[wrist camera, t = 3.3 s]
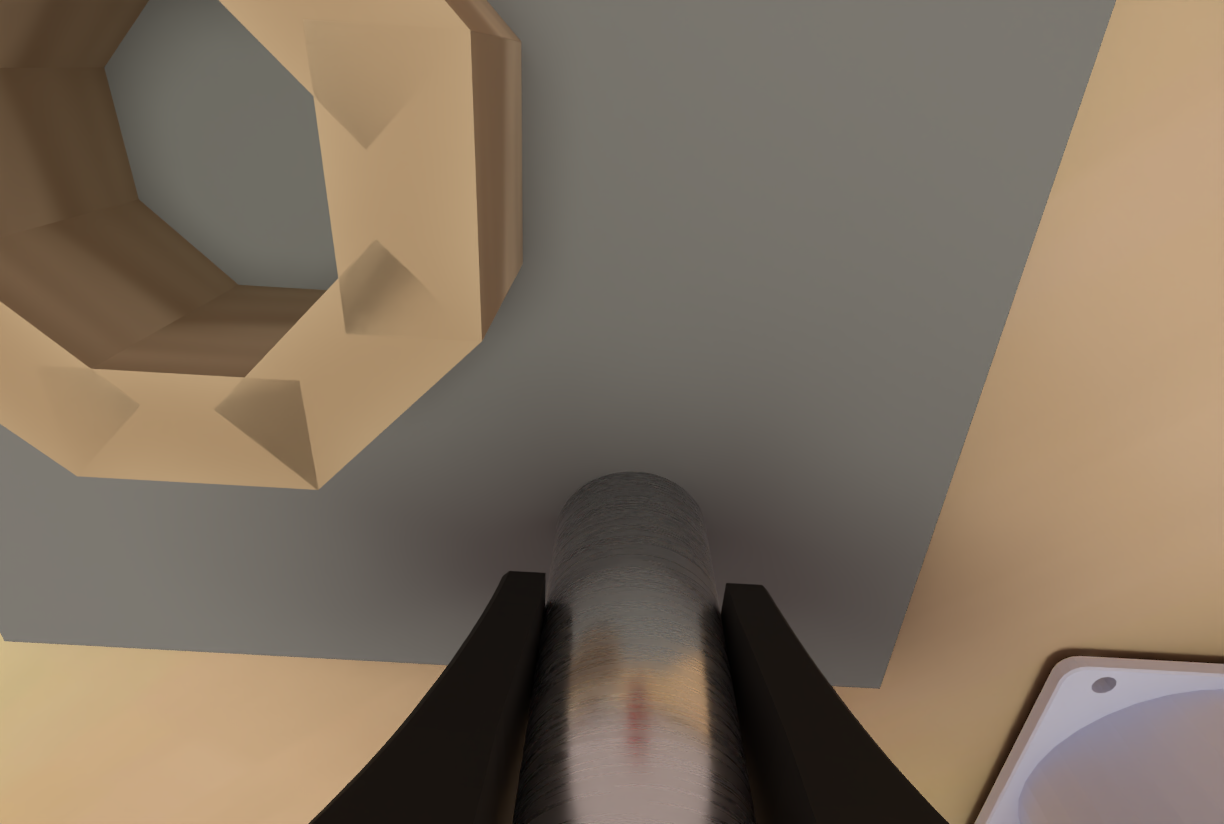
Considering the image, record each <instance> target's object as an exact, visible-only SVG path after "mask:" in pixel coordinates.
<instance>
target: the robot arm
mask: <svg viewBox="0 0 1224 824" xmlns="http://www.w3.org/2000/svg"><path fill="white" fill-rule="evenodd" d="M545 587H546V573H540V572H521V571H509V572H507V573H506V574H505V575H503V576H502V578H501V580H500V583H499V585H498V587H497V589H496V590H495V592H494V594H493V596H492V598H491V599H490V601H489V603H488V605H487V606H486V608H485V610H484V611H483V613H482V615H481V616H480V618H479V619H478V621H477V623H476V624H475V626H474V627H473V629H472V631H471V632H470V634H469V635H468V637H467V638H466V640H465V641H464V642H463V644H462V645H461V647H460V648H459V650H458V651H457V653H456V654H455V656H454V657H453V658H452V660H451V661H450V663H449V664H448V666H447V667H446V669H445V670H444V671H443V673H442V674H441V675H440V677H439V678H438V679H437V681H436V682H435V683H434V684H433V686H432V687H431V688H430V690H429V691H428V692H427V693H426V695H425V696H424V697H423V699H422V700H421V701H420V702H419V704H418V705H417V706H416V708H415V709H414V710H413V711H412V713H411V714H410V715H409V716H408V718H407V719H406V720H405V721H404V722H403V724H402V725H401V726H400V727H399V728H398V730H397V731H396V732H395V733H394V734H393V735H392V737H391V738H390V739H389V740H388V741H387V742H386V744H385V745H384V746H383V747H382V748H381V749H380V750H379V751H378V752H377V754H376V755H375V756H374V757H373V758H372V759H371V760H370V761H369V762H368V764H367V765H366V766H365V767H364V768H363V769H362V770H361V771H360V772H359V773H358V774H357V775H356V776H355V777H354V778H353V779H352V780H351V781H350V782H349V783H348V784H347V786H346V787H345V788H344V789H343V790H342V791H341V792H340V793H339V794H338V795H337V796H336V797H335V798H334V799H333V800H332V801H331V802H330V803H329V804H328V805H327V806H326V807H325V808H324V809H323V810H322V811H321V812H320V813H319V814H318V815H317V816H316V817H315V818H314V819H313V820H312V821H311V822H310V823H309V824H512V821H513V815H514V808H515V802H516V795H517V788H518V782H519V775H520V768H521V762H522V755H523V748H524V742H525V735H526V729H527V722H528V715H529V709H530V702H531V695H532V689H533V682H534V675H535V669H536V663H537V658H538V652H539V645H540V639H541V632H542V625H543V619H544V612H545ZM721 619H722V625H723V631H724V637H725V643H726V649H727V654H728V660H729V666H730V672H731V678H732V684H733V689H734V695H735V701H736V707H737V713H738V719H739V725H740V730H741V736H742V742H743V748H744V754H745V760H746V765H747V771H748V777H749V783H750V789H751V795H752V800H753V806H754V812H755V818H756V824H949V823H948V822H947V821H946V820H945V819H944V818H943V817H942V816H941V815H940V814H939V813H938V812H937V811H936V810H935V809H934V808H933V807H932V806H931V805H930V803H929V802H928V801H927V800H926V799H925V798H924V797H923V796H922V795H921V794H920V793H919V791H918V790H917V789H916V788H915V787H914V786H913V785H912V784H911V783H910V782H909V781H908V780H907V778H906V777H905V776H904V775H903V774H902V773H901V772H900V771H899V769H898V768H897V767H896V766H895V765H894V764H893V763H892V761H891V760H890V759H889V758H888V757H887V756H886V754H885V753H884V752H883V751H882V750H881V748H880V747H879V746H878V745H877V744H876V743H875V741H874V740H873V739H872V738H871V736H870V735H869V734H868V733H867V731H866V730H865V729H864V728H863V726H862V725H861V724H860V723H859V721H858V720H857V719H856V718H855V717H854V715H853V714H852V713H851V711H850V710H849V709H848V707H847V706H846V705H845V704H844V702H843V701H842V700H841V698H840V697H839V696H838V694H837V693H836V691H835V690H834V689H833V687H832V686H831V685H830V683H829V682H828V681H827V679H826V678H825V676H824V675H823V674H822V672H821V671H820V670H819V668H818V667H817V665H816V664H815V663H814V661H813V660H812V658H811V657H810V655H809V654H808V653H807V651H806V650H805V648H804V647H803V645H802V644H801V642H800V641H799V639H798V638H797V636H796V635H795V633H794V632H793V630H792V629H791V627H790V626H789V624H788V622H787V621H786V619H785V618H784V616H783V615H782V613H781V611H780V610H779V608H778V607H777V605H776V603H775V602H774V600H773V599H772V597H771V595H770V594H769V592H768V591H767V589H766V588H765V587H764V586H763V585H756V584H738V583H726V586H725V592H724V598H723V603H722V609H721ZM974 824H1224V664H1217V663H1199V662H1181V661H1163V660H1144V659H1126V658H1108V657H1090V656H1072V657H1068V658H1065V659H1063V660H1061V661H1060V662H1058V663H1057V664H1056V665H1055V666H1054V668H1053V669H1052V671H1051V673H1050V675H1049V677H1048V679H1047V681H1046V683H1045V685H1044V687H1043V689H1042V691H1041V693H1040V694H1039V696H1038V698H1037V700H1036V702H1035V704H1034V706H1033V708H1032V710H1031V712H1030V714H1029V716H1028V718H1027V720H1026V722H1025V724H1024V726H1023V728H1022V730H1021V732H1020V734H1019V736H1018V738H1017V740H1016V742H1015V744H1014V746H1013V748H1012V750H1011V752H1010V754H1009V756H1008V758H1007V760H1006V762H1005V764H1004V766H1003V768H1002V770H1001V772H1000V774H999V776H998V778H997V780H996V782H995V784H994V786H993V788H992V790H991V792H990V794H989V796H988V798H987V800H986V802H985V804H984V806H983V808H982V810H981V811H980V813H979V815H978V817H977V819H976V821H975V823H974Z"/></svg>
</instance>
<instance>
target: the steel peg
mask: <svg viewBox="0 0 1224 824" xmlns="http://www.w3.org/2000/svg"><path fill="white" fill-rule="evenodd" d="M512 824H756V818H755V812H754V806H753V800H752V795H751V789H750V783H749V777H748V771H747V765H746V760H745V754H744V748H743V742H742V736H741V730H740V725H739V719H738V713H737V707H736V701H735V695H734V689H733V684H732V678H731V672H730V666H729V660H728V654H727V649H726V643H725V637H724V631H723V625H722V619H721V613H720V608H719V602H718V596H717V590H716V584H715V578H714V573H713V567H712V561H711V555H710V549H709V543H708V538H707V532H706V526H705V521H704V517H703V514H702V512H701V510H700V507H699V506H698V504H697V503H696V501H695V500H694V499H693V498H692V496H691V495H690V494H689V493H688V492H687V491H685V490H684V489H683V488H682V487H680V486H679V485H677V484H676V483H674V482H672V481H670V480H668V479H666V478H663V477H660V476H658V475H654V474H650V473H644V472H618V473H613V474H608V475H605V476H602V477H599V478H596V479H594V480H592V481H590V482H588V483H587V484H585V485H584V486H582V487H581V488H579V489H578V490H577V491H576V492H575V493H574V494H573V495H572V496H571V497H570V498H569V499H568V500H567V502H566V503H565V505H564V507H563V508H562V511H561V513H560V515H559V519H558V523H557V529H556V536H555V543H554V549H553V556H552V563H551V569H550V576H549V583H548V589H547V596H546V602H545V612H544V619H543V625H542V632H541V639H540V645H539V652H538V658H537V663H536V669H535V675H534V682H533V689H532V695H531V702H530V709H529V715H528V722H527V729H526V735H525V742H524V748H523V755H522V762H521V768H520V775H519V782H518V788H517V795H516V802H515V808H514V815H513V821H512Z"/></svg>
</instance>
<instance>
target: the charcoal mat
mask: <svg viewBox="0 0 1224 824" xmlns="http://www.w3.org/2000/svg"><path fill="white" fill-rule="evenodd" d="M487 1H488V2H489V4H490V5H491V6H492V7H493V8H494V10H495V11H496V12H497V13H498V14H499V16H500V17H501V18H502V19H503V20H504V22H505V23H506V24H507V25H508V26H509V28H510V29H511V30H512V31H513V32H514V34H515V35H516V36H517V37H518V38H519V39H520V41H521V78H522V228H523V264H522V266H521V268H520V270H519V272H518V274H517V275H516V277H515V279H514V281H513V283H512V285H511V287H510V289H509V291H508V293H507V295H506V297H505V298H504V300H503V302H502V304H501V306H500V308H499V310H498V312H497V314H496V316H495V318H494V320H493V321H492V323H491V325H490V327H489V329H488V331H487V333H486V335H485V337H484V339H483V341H482V342H481V343H480V344H478V345H477V346H476V347H475V348H474V349H473V350H472V351H471V352H470V353H468V354H467V355H466V356H465V357H464V358H463V359H462V360H461V361H460V362H459V363H457V364H456V365H455V366H454V367H453V368H452V369H451V370H450V371H449V372H448V373H446V374H445V375H444V376H443V377H442V378H441V379H440V380H439V381H438V382H437V383H435V384H434V385H433V386H432V387H431V388H430V389H429V390H428V391H427V392H426V393H424V394H423V395H422V396H421V397H420V398H419V399H418V400H417V401H416V402H415V403H413V404H412V405H411V406H410V407H409V408H408V409H407V410H406V411H405V412H404V413H402V414H401V415H400V416H399V417H398V418H397V419H396V420H395V421H394V422H392V423H391V424H390V425H389V426H388V427H387V428H386V429H385V430H384V431H383V432H381V433H380V434H379V435H378V436H377V437H376V438H375V439H374V440H373V441H372V442H370V443H369V444H368V445H367V446H366V447H365V448H364V449H363V450H362V451H361V452H359V453H358V454H357V455H356V456H355V457H354V458H353V459H352V460H351V461H350V462H348V463H347V464H346V465H345V466H344V467H343V468H342V469H341V470H340V471H339V472H337V473H336V474H335V475H334V476H333V477H332V478H331V479H330V480H329V481H328V482H326V483H325V484H324V485H323V486H322V487H321V488H320V489H319V490H311V489H294V488H276V487H258V486H240V485H223V484H205V483H187V482H169V481H152V480H134V479H116V478H98V477H81V476H78V477H77V476H76V475H75V474H73V473H72V472H70V471H69V470H67V469H66V468H64V467H63V466H61V465H60V464H58V463H57V462H55V461H54V460H53V459H51V458H50V457H48V456H47V455H45V454H44V453H42V452H41V451H39V450H38V449H36V448H35V447H33V446H32V445H31V444H29V443H28V442H26V441H25V440H23V439H22V438H20V437H19V436H17V435H16V434H14V433H13V432H11V431H10V430H9V429H7V428H6V427H4V426H3V425H1V424H0V633H1V635H2V637H3V639H4V641H12V642H31V643H49V644H67V645H86V646H104V647H123V648H141V649H160V650H178V651H196V652H215V653H233V654H252V655H270V656H289V657H307V658H325V659H344V660H362V661H381V662H399V663H418V664H436V665H448V664H449V663H450V661H451V660H452V658H453V657H454V656H455V654H456V653H457V651H458V650H459V648H460V647H461V645H462V644H463V642H464V641H465V640H466V638H467V637H468V635H469V634H470V632H471V631H472V629H473V627H474V626H475V624H476V623H477V621H478V619H479V618H480V616H481V615H482V613H483V611H484V610H485V608H486V606H487V605H488V603H489V601H490V599H491V598H492V596H493V594H494V592H495V590H496V589H497V587H498V585H499V583H500V580H501V578H502V576H503V575H505V574H506V573H507V572H509V571H521V572H540V573H546V587H545V602H546V596H547V589H548V583H549V576H550V569H551V563H552V556H553V549H554V543H555V536H556V529H557V523H558V519H559V515H560V513H561V511H562V508H563V507H564V505H565V503H566V502H567V500H568V499H569V498H570V497H571V496H572V495H573V494H574V493H575V492H576V491H577V490H578V489H579V488H581V487H582V486H584V485H585V484H587V483H588V482H590V481H592V480H594V479H596V478H599V477H602V476H605V475H608V474H613V473H618V472H644V473H650V474H654V475H658V476H660V477H663V478H666V479H668V480H670V481H672V482H674V483H676V484H677V485H679V486H680V487H682V488H683V489H684V490H685V491H687V492H688V493H689V494H690V495H691V496H692V498H693V499H694V500H695V501H696V503H697V504H698V506H699V507H700V510H701V512H702V514H703V517H704V521H705V526H706V532H707V538H708V543H709V549H710V555H711V561H712V567H713V573H714V578H715V584H716V590H717V596H718V602H719V608H720V613H721V609H722V603H723V598H724V592H725V586H726V583H738V584H756V585H763V586H764V587H765V588H766V589H767V591H768V592H769V594H770V595H771V597H772V599H773V600H774V602H775V603H776V605H777V607H778V608H779V610H780V611H781V613H782V615H783V616H784V618H785V619H786V621H787V622H788V624H789V626H790V627H791V629H792V630H793V632H794V633H795V635H796V636H797V638H798V639H799V641H800V642H801V644H802V645H803V647H804V648H805V650H806V651H807V653H808V654H809V655H810V657H811V658H812V660H813V661H814V663H815V664H816V665H817V667H818V668H819V670H820V671H821V672H822V674H823V675H824V676H825V678H826V679H827V681H828V682H829V683H830V685H831V686H841V687H860V688H878V689H880V686H881V683H882V681H883V678H884V675H885V672H886V669H887V666H888V663H889V660H890V657H891V654H892V651H893V648H894V646H895V643H896V640H897V637H898V634H899V631H900V628H901V625H902V622H903V619H904V616H905V614H906V611H907V608H908V605H909V602H910V599H911V596H912V593H913V590H914V587H915V584H916V581H917V579H918V576H919V573H920V570H921V567H922V564H923V561H924V558H925V555H926V552H927V549H928V547H929V544H930V541H931V538H932V535H933V532H934V529H935V526H936V523H937V520H938V517H939V515H940V512H941V509H942V506H943V503H944V500H945V497H946V494H947V491H948V488H949V485H950V482H951V480H952V477H953V474H954V471H955V468H956V465H957V462H958V459H959V456H960V453H961V450H962V448H963V445H964V442H965V439H966V436H967V433H968V430H969V427H970V424H971V421H972V418H973V416H974V413H975V410H976V407H977V404H978V401H979V398H980V395H981V392H982V389H983V386H984V383H985V381H986V378H987V375H988V372H989V369H990V366H991V363H992V360H993V357H994V354H995V351H996V349H997V346H998V343H999V340H1000V337H1001V334H1002V331H1003V328H1004V325H1005V322H1006V319H1007V316H1008V314H1009V311H1010V308H1011V305H1012V302H1013V299H1014V296H1015V293H1016V290H1017V287H1018V284H1019V282H1020V279H1021V276H1022V273H1023V270H1024V267H1025V264H1026V261H1027V258H1028V255H1029V252H1030V250H1031V247H1032V244H1033V241H1034V238H1035V235H1036V232H1037V229H1038V226H1039V223H1040V220H1041V217H1042V215H1043V212H1044V209H1045V206H1046V203H1047V200H1048V197H1049V194H1050V191H1051V188H1052V185H1053V183H1054V180H1055V177H1056V174H1057V171H1058V168H1059V165H1060V162H1061V159H1062V156H1063V153H1064V151H1065V148H1066V145H1067V142H1068V139H1069V136H1070V133H1071V130H1072V127H1073V124H1074V121H1075V118H1076V116H1077V113H1078V110H1079V107H1080V104H1081V101H1082V98H1083V95H1084V92H1085V89H1086V86H1087V84H1088V81H1089V78H1090V75H1091V72H1092V69H1093V66H1094V63H1095V60H1096V57H1097V54H1098V52H1099V49H1100V46H1101V43H1102V40H1103V37H1104V34H1105V31H1106V28H1107V25H1108V22H1109V19H1110V17H1111V14H1112V11H1113V8H1114V5H1115V2H1116V0H487ZM104 69H105V72H106V76H107V80H108V84H109V88H110V91H111V95H112V99H113V103H114V107H115V111H116V114H117V118H118V122H119V126H120V130H121V133H122V137H123V141H124V145H125V149H126V152H127V156H128V160H129V164H130V168H131V172H132V175H133V179H134V183H135V187H136V191H137V194H138V198H139V200H140V201H141V202H143V203H144V204H145V205H146V206H147V207H148V208H150V209H151V210H152V211H153V212H154V213H155V214H157V215H158V216H159V217H160V218H161V219H162V220H164V221H165V222H166V223H167V224H168V225H169V226H171V227H172V228H173V229H174V230H175V231H176V232H178V233H179V234H180V235H181V236H182V237H183V238H185V239H186V240H187V241H188V242H189V243H190V244H192V245H193V246H194V247H195V248H196V249H197V250H199V251H200V252H201V253H202V254H203V255H204V256H206V257H207V258H208V259H209V260H210V261H211V262H213V263H214V264H215V265H216V266H217V267H218V268H220V269H221V270H222V271H223V272H224V273H225V274H227V275H228V276H229V277H230V278H231V279H232V280H234V281H235V282H236V283H237V284H238V285H249V286H266V287H283V288H300V289H317V290H328V289H329V288H330V287H331V285H332V284H333V283H334V282H335V281H336V280H337V279H338V272H337V265H336V258H335V250H334V243H333V236H332V228H331V221H330V214H329V206H328V199H327V192H326V184H325V177H324V170H323V162H322V155H321V148H320V140H319V133H318V126H317V118H316V111H315V104H314V96H313V95H312V94H311V93H310V92H309V91H308V90H307V89H306V88H305V87H304V86H303V85H302V84H301V83H300V82H299V81H298V80H297V79H296V78H295V77H294V76H293V75H292V74H291V73H290V72H289V71H288V70H287V69H286V68H285V67H284V66H283V65H282V64H281V63H280V62H279V61H278V60H277V59H276V58H275V57H274V56H273V55H272V54H271V53H270V52H269V51H268V50H267V49H266V48H265V47H264V46H263V45H262V44H261V43H260V42H259V41H258V40H257V39H256V38H255V37H254V36H253V35H252V34H251V33H250V32H249V31H248V30H247V29H246V28H245V27H244V26H243V25H242V24H241V22H240V21H239V20H238V19H237V18H236V17H235V16H234V15H233V14H232V13H231V12H230V11H229V10H228V9H227V8H226V7H225V6H224V5H223V4H222V3H221V2H220V1H219V0H149V1H148V3H147V4H146V6H145V7H144V9H143V10H142V12H141V13H140V15H139V16H138V18H137V19H136V21H135V22H134V24H133V25H132V27H131V28H130V30H129V31H128V33H127V34H126V36H125V37H124V39H123V40H122V42H121V43H120V45H119V46H118V48H117V49H116V51H115V52H114V54H113V55H112V57H111V58H110V60H109V61H108V63H107V64H106V66H105V67H104Z"/></svg>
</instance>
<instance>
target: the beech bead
mask: <svg viewBox="0 0 1224 824" xmlns="http://www.w3.org/2000/svg"><path fill="white" fill-rule="evenodd" d="M148 1H149V0H0V424H1V425H3V426H4V427H6V428H7V429H9V430H10V431H11V432H13V433H14V434H16V435H17V436H19V437H20V438H22V439H23V440H25V441H26V442H28V443H29V444H31V445H32V446H33V447H35V448H36V449H38V450H39V451H41V452H42V453H44V454H45V455H47V456H48V457H50V458H51V459H53V460H54V461H55V462H57V463H58V464H60V465H61V466H63V467H64V468H66V469H67V470H69V471H70V472H72V473H73V474H75V475H76V476H77V477H78V476H81V477H98V478H116V479H134V480H152V481H169V482H187V483H205V484H223V485H240V486H258V487H276V488H294V489H311V490H319V489H320V488H321V487H322V486H323V485H324V484H325V483H326V482H328V481H329V480H330V479H331V478H332V477H333V476H334V475H335V474H336V473H337V472H339V471H340V470H341V469H342V468H343V467H344V466H345V465H346V464H347V463H348V462H350V461H351V460H352V459H353V458H354V457H355V456H356V455H357V454H358V453H359V452H361V451H362V450H363V449H364V448H365V447H366V446H367V445H368V444H369V443H370V442H372V441H373V440H374V439H375V438H376V437H377V436H378V435H379V434H380V433H381V432H383V431H384V430H385V429H386V428H387V427H388V426H389V425H390V424H391V423H392V422H394V421H395V420H396V419H397V418H398V417H399V416H400V415H401V414H402V413H404V412H405V411H406V410H407V409H408V408H409V407H410V406H411V405H412V404H413V403H415V402H416V401H417V400H418V399H419V398H420V397H421V396H422V395H423V394H424V393H426V392H427V391H428V390H429V389H430V388H431V387H432V386H433V385H434V384H435V383H437V382H438V381H439V380H440V379H441V378H442V377H443V376H444V375H445V374H446V373H448V372H449V371H450V370H451V369H452V368H453V367H454V366H455V365H456V364H457V363H459V362H460V361H461V360H462V359H463V358H464V357H465V356H466V355H467V354H468V353H470V352H471V351H472V350H473V349H474V348H475V347H476V346H477V345H478V344H480V343H481V342H482V341H483V339H484V337H485V335H486V333H487V331H488V329H489V327H490V325H491V323H492V321H493V320H494V318H495V316H496V314H497V312H498V310H499V308H500V306H501V304H502V302H503V300H504V298H505V297H506V295H507V293H508V291H509V289H510V287H511V285H512V283H513V281H514V279H515V277H516V275H517V274H518V272H519V270H520V268H521V266H522V264H523V228H522V78H521V41H520V39H519V38H518V37H517V36H516V35H515V34H514V32H513V31H512V30H511V29H510V28H509V26H508V25H507V24H506V23H505V22H504V20H503V19H502V18H501V17H500V16H499V14H498V13H497V12H496V11H495V10H494V8H493V7H492V6H491V5H490V4H489V2H488V1H487V0H219V1H220V2H221V3H222V4H223V5H224V6H225V7H226V8H227V9H228V10H229V11H230V12H231V13H232V14H233V15H234V16H235V17H236V18H237V19H238V20H239V21H240V22H241V24H242V25H243V26H244V27H245V28H246V29H247V30H248V31H249V32H250V33H251V34H252V35H253V36H254V37H255V38H256V39H257V40H258V41H259V42H260V43H261V44H262V45H263V46H264V47H265V48H266V49H267V50H268V51H269V52H270V53H271V54H272V55H273V56H274V57H275V58H276V59H277V60H278V61H279V62H280V63H281V64H282V65H283V66H284V67H285V68H286V69H287V70H288V71H289V72H290V73H291V74H292V75H293V76H294V77H295V78H296V79H297V80H298V81H299V82H300V83H301V84H302V85H303V86H304V87H305V88H306V89H307V90H308V91H309V92H310V93H311V94H312V95H313V96H314V104H315V111H316V118H317V126H318V133H319V140H320V148H321V155H322V162H323V170H324V177H325V184H326V192H327V199H328V206H329V214H330V221H331V228H332V236H333V243H334V250H335V258H336V265H337V272H338V279H337V280H336V281H335V282H334V283H333V284H332V285H331V287H330V288H329V289H328V290H317V289H300V288H283V287H266V286H249V285H238V284H237V283H236V282H235V281H234V280H232V279H231V278H230V277H229V276H228V275H227V274H225V273H224V272H223V271H222V270H221V269H220V268H218V267H217V266H216V265H215V264H214V263H213V262H211V261H210V260H209V259H208V258H207V257H206V256H204V255H203V254H202V253H201V252H200V251H199V250H197V249H196V248H195V247H194V246H193V245H192V244H190V243H189V242H188V241H187V240H186V239H185V238H183V237H182V236H181V235H180V234H179V233H178V232H176V231H175V230H174V229H173V228H172V227H171V226H169V225H168V224H167V223H166V222H165V221H164V220H162V219H161V218H160V217H159V216H158V215H157V214H155V213H154V212H153V211H152V210H151V209H150V208H148V207H147V206H146V205H145V204H144V203H143V202H141V201H140V200H139V198H138V194H137V191H136V187H135V183H134V179H133V175H132V172H131V168H130V164H129V160H128V156H127V152H126V149H125V145H124V141H123V137H122V133H121V130H120V126H119V122H118V118H117V114H116V111H115V107H114V103H113V99H112V95H111V91H110V88H109V84H108V80H107V76H106V72H105V69H104V67H105V66H106V64H107V63H108V61H109V60H110V58H111V57H112V55H113V54H114V52H115V51H116V49H117V48H118V46H119V45H120V43H121V42H122V40H123V39H124V37H125V36H126V34H127V33H128V31H129V30H130V28H131V27H132V25H133V24H134V22H135V21H136V19H137V18H138V16H139V15H140V13H141V12H142V10H143V9H144V7H145V6H146V4H147V3H148Z"/></svg>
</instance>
